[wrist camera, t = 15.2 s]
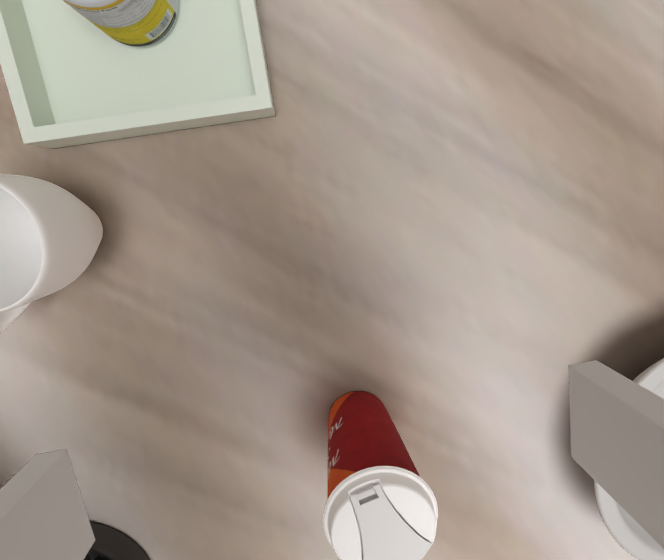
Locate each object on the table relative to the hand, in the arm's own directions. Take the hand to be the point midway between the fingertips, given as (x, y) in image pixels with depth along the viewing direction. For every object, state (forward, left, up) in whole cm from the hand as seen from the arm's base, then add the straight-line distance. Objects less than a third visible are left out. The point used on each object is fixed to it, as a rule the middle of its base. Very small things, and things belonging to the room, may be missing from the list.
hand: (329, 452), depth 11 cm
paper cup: (+2, -15, -27) cm, 31 cm away
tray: (-10, +22, -27) cm, 36 cm away
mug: (-20, +5, -27) cm, 34 cm away
